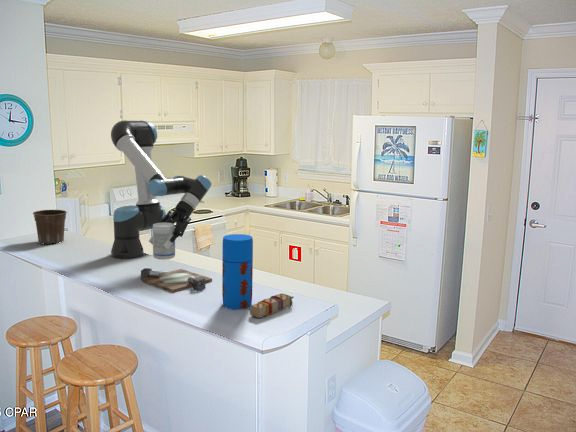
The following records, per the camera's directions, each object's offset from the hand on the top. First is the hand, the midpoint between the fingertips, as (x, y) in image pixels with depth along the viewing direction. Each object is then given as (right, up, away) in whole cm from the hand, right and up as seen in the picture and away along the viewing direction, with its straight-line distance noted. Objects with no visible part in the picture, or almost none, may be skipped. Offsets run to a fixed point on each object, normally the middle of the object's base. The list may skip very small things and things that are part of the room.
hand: (158, 245), depth 224 cm
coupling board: (+11, -14, -11) cm, 21 cm away
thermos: (+38, -20, -35) cm, 55 cm away
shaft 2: (+19, -16, -18) cm, 31 cm away
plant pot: (-69, -1, +51) cm, 86 cm away
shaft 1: (-1, -14, -9) cm, 16 cm away
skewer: (+51, -21, -40) cm, 68 cm away
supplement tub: (+2, -6, +4) cm, 7 cm away
